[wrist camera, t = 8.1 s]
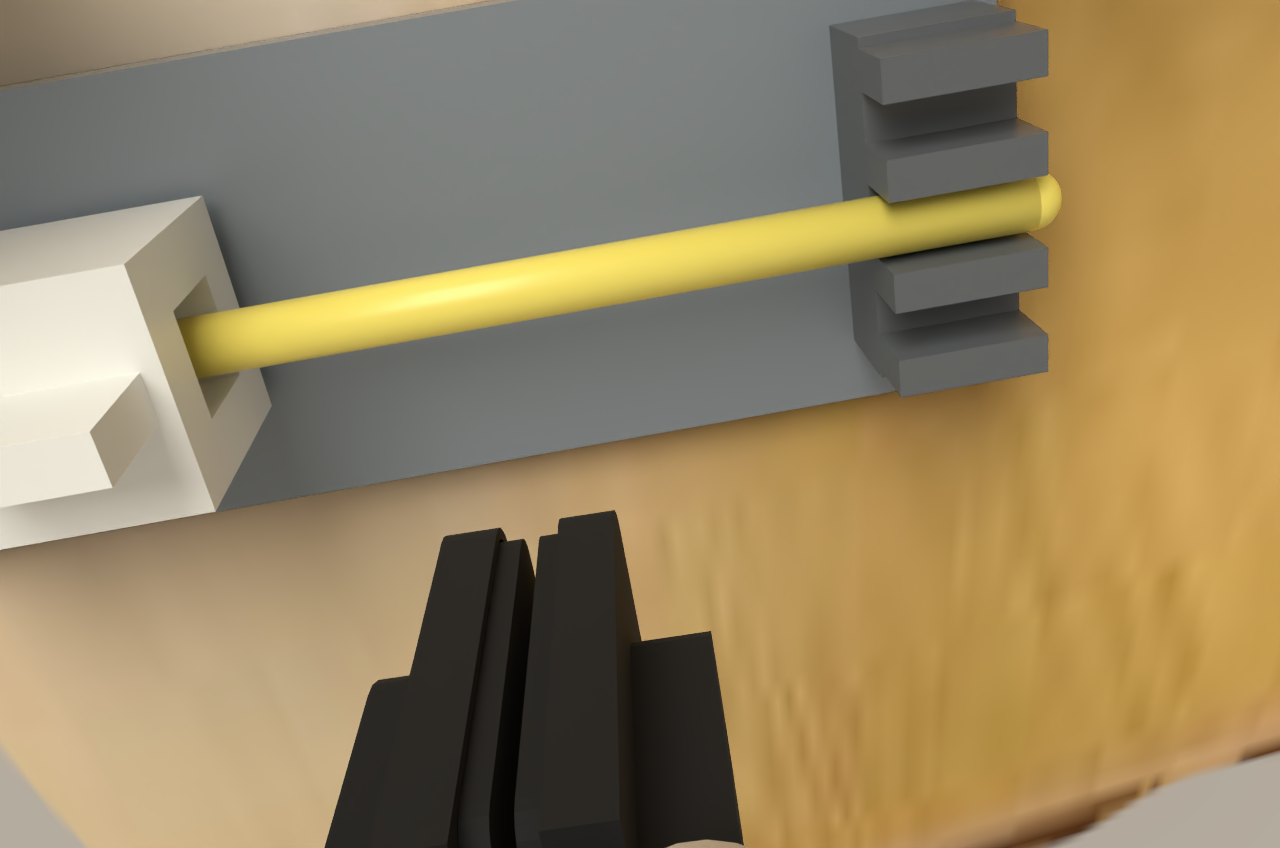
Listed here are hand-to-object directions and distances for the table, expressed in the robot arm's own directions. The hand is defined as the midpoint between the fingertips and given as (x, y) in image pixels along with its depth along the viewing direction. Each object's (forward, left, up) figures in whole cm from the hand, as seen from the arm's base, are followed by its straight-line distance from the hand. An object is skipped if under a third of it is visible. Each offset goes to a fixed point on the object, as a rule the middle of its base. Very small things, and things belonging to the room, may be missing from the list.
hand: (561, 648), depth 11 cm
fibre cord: (+1, +1, -13) cm, 13 cm away
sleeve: (+6, +6, -14) cm, 17 cm away
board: (+2, +2, -16) cm, 16 cm away
